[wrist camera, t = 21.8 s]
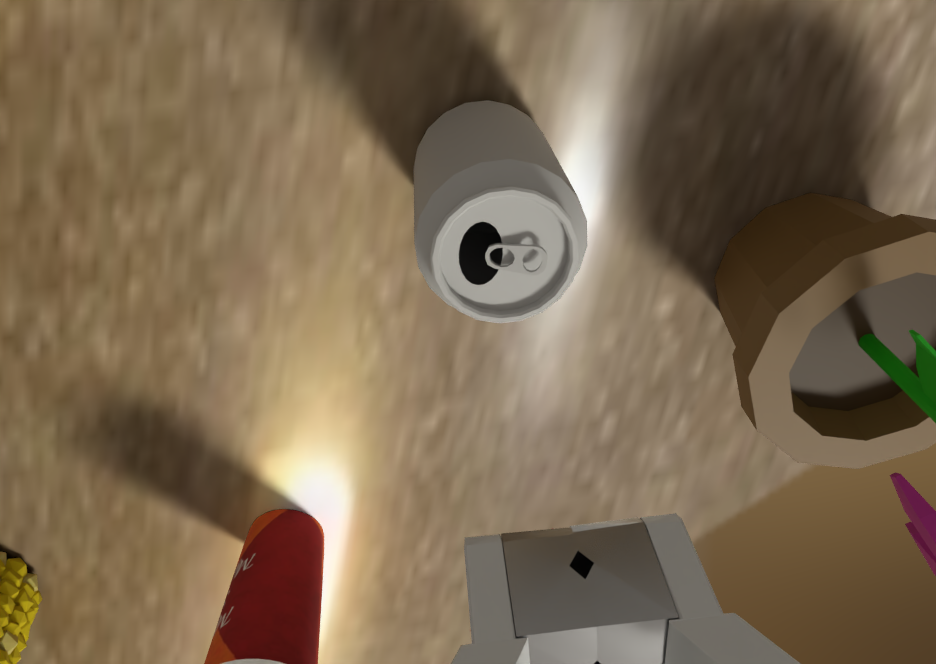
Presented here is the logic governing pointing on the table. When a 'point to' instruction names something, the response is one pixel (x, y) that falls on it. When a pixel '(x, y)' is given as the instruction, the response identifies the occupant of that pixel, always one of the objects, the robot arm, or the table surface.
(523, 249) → the can
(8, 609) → the food
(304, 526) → the paper cup
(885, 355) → the flowerpot
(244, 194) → the table surface
